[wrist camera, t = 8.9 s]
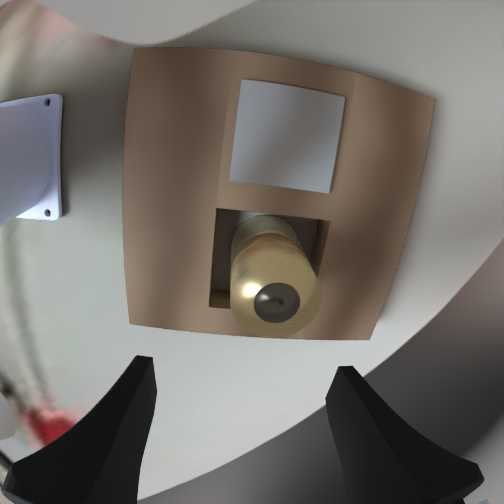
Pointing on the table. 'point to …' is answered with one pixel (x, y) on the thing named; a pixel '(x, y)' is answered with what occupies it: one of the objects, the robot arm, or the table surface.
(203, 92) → the jig plate
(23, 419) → the table surface
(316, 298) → the brass bushing
